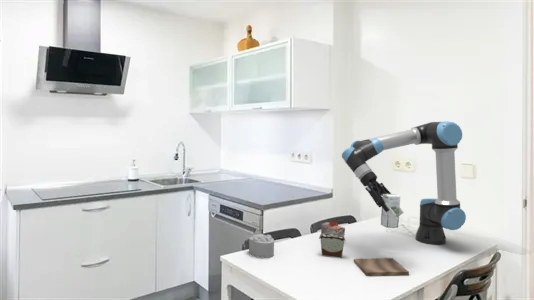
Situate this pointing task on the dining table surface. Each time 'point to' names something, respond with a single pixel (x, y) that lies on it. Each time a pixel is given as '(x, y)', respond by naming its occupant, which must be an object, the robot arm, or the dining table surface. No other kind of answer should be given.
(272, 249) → the lumpy-topped squat cylinder
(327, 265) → the dining table surface
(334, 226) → the food item
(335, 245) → the food container
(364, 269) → the walnut board
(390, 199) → the syrup box
